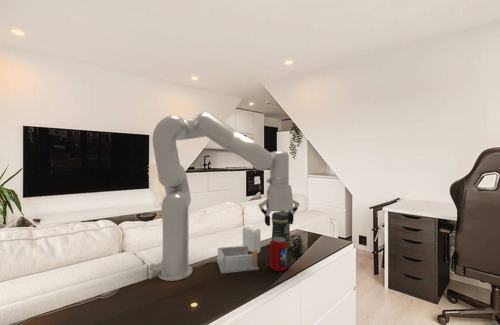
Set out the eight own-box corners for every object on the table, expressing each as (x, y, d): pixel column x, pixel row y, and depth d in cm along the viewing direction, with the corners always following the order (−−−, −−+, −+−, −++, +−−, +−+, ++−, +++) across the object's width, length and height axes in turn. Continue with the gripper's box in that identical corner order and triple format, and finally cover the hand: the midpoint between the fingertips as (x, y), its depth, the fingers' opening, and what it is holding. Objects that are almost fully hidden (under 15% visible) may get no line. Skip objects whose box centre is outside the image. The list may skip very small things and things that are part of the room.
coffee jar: (281, 253, 121) (282, 213, 121) (268, 249, 127) (268, 211, 127) (293, 248, 128) (293, 211, 128) (280, 244, 134) (280, 208, 134)
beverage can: (286, 273, 100) (286, 242, 100) (268, 271, 101) (269, 240, 101) (287, 266, 106) (287, 237, 106) (271, 264, 108) (271, 236, 108)
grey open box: (221, 273, 99) (221, 255, 99) (216, 259, 112) (216, 243, 112) (258, 269, 103) (258, 251, 102) (249, 256, 116) (249, 241, 116)
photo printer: (241, 248, 127) (241, 223, 127) (248, 246, 130) (248, 222, 130) (254, 254, 119) (255, 227, 119) (261, 252, 122) (261, 226, 122)
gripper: (261, 183, 98) (261, 228, 98) (303, 182, 102) (303, 225, 102) (256, 181, 105) (256, 223, 105) (294, 180, 109) (294, 221, 109)
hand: (279, 224), depth 104 cm, fingers open, 9 cm apart
